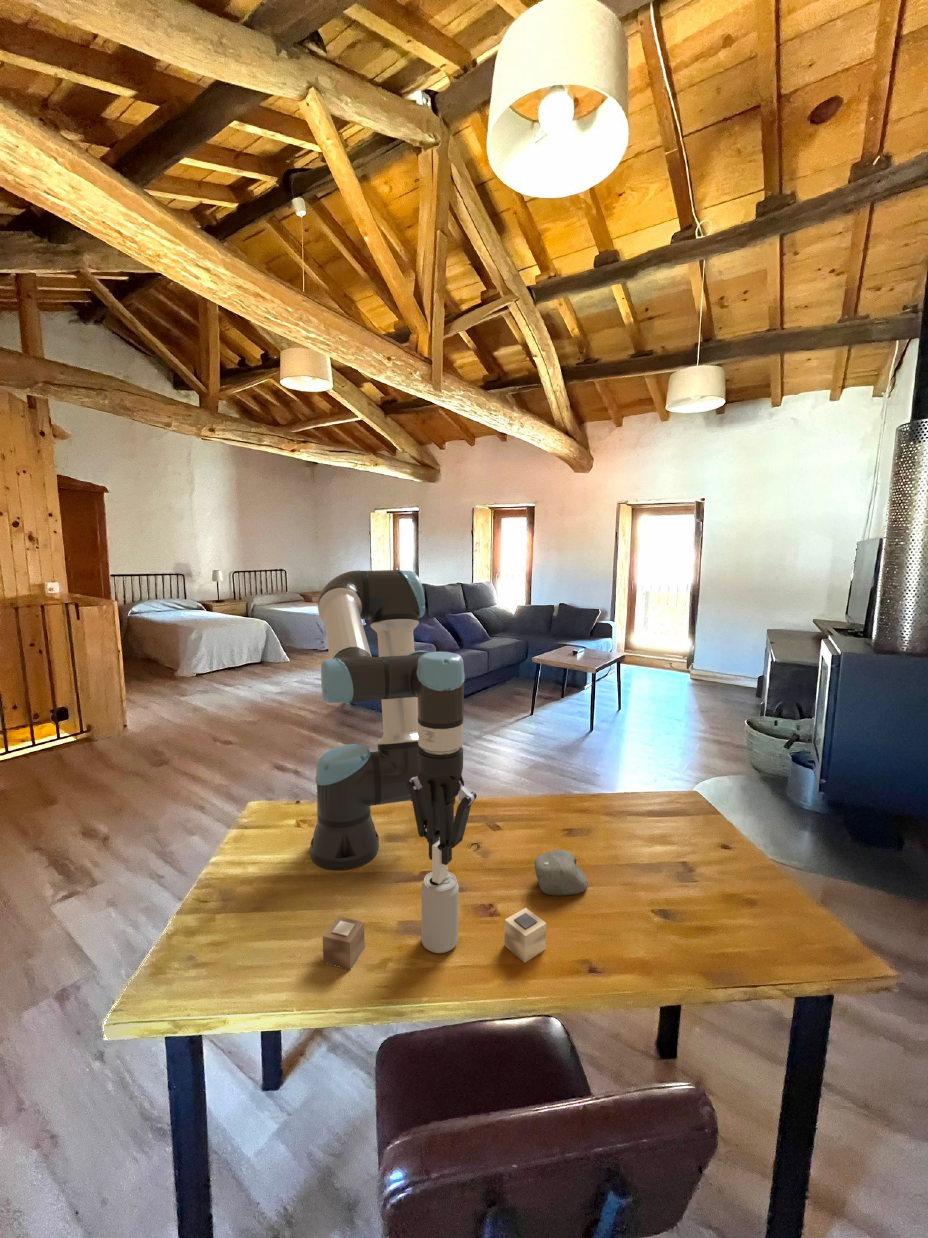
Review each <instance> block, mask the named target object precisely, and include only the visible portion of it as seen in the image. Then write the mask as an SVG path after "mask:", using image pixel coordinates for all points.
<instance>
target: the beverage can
mask: <svg viewBox="0 0 928 1238" xmlns="http://www.w3.org/2000/svg"><path fill="white" fill-rule="evenodd" d="M459 891H460V887H459V883H458V880H457V877H456V875H455V874H454V873H453V872H450V871H448V876H447V877H446V878H445V879H444V880H443V881H442V882H441V883H440V884H438V883H436V882H433V881H432V871H430V872H428V873H427V874H426V875H425V876H424V878H423V882H422V885H421V931H420V932H421V936H420V937H421V943H422V946H423V947H424V948H425V949H426V950H427V951H428V952H429V951H430V952H431V953H435V954H444V953H447V952H449V951H451V950H453V949H454V948H455V947H456V946H457V944H458V941H459V899H460V898H459Z"/></svg>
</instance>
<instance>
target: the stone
mask: <svg viewBox="0 0 928 1238" xmlns="http://www.w3.org/2000/svg"><path fill="white" fill-rule="evenodd" d="M534 870H535V875H536V880H537V883H538V886H539V888H540V890H541V891H542V892H543V893H544V894H545V895H548V896H573V895H576V894H577V895H578V894H582V893H583V892H586V890H587V887H589V885H590V884H589V881H588V878H587V876H586V875H585V873H584V871H583V870H582V869H581V868H580V867H579V866H578V865H577V857H576V856H575V855H574V854H573V853H572V852H570V851H569V850H566V849H559V848H558V849H554V850H551V851H547V852H546V853H543V854H541V855H538V856H537V857H536V859H535V860H534Z"/></svg>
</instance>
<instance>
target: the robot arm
mask: <svg viewBox="0 0 928 1238" xmlns="http://www.w3.org/2000/svg"><path fill="white" fill-rule="evenodd" d="M425 603H426V599H425V593H424V588H423V583H422V582H421V579H420V577H419V576H418V574H417V573H416V572H414V571H412V570H401V569H390V570H383V569H382V570H380V569H379V570H359V569H358V570H350V571H346V572H343V573H341V574H338V575H337V576H335V577H334V578H331V580H330V581H329V582H328V583H327V584H326V585H325V586H324V587H323V588H322V590H321V592H320V594H319V595H318V599H317V610H318V611H317V612H318V615H319V617H320V619H321V621H323V622H324V627H325V634H326V635H325V636H326V641H327V642H326V643H327V649H328V656H329V657H328V658H329V659H325V660H323V661H322V662H321V665H320V683H321V698H322V699H323V701H324V702H325V703H328V704H332V703H336V704H339V703H341V704H342V703H343V704H349V703H357V702H358V703H359V702H367V701H368V702H369V701H378V700H379V701H380V700H381V712H382V728H383V729H382V730H383V736H381V738H380V739H379V740H378V741H377V751H371V750H370V748H369V747H368V746H366V745H365V744H361V743H360V744H358V743H351V744H344V745H340V746H337V747H334V748H332V749H330V750H327V751H326V752H325V753H323V754H322V755H320V757H319V758H318V760H317V763H316V769H315V771H316V773H315V778H314V779H315V784H316V805H317V806H316V812H317V822H316V825H315V827H314V831H313V835H312V836H313V837H312V838H311V841H310V846H309V852H310V855H309V856H310V859H311V860H312V862H313V863H314V864H315V865H316V866H318V867H320V868H323V869H325V870H326V869H328V870H333V871H335V870H336V871H340V870H342V871H343V870H350V869H355V868H357V867H360V866H362V865H365V864H367V863H368V862H370V861H371V860H372V859H374V858H375V857H376V856H377V854H378V852H379V851H380V849H379V848H380V839H379V838H380V837H379V835H378V832H377V831H376V828H375V823H374V821H373V818H372V815H371V812H372V811H371V807H372V806H380V805H387V804H393V803H401V802H402V803H403V802H409V801H410V802H411V803H412V806H413V812H414V817H415V822H416V823H415V824H416V827H417V828H416V829H417V832H418V835H419V837H420V838H425V839H426V842H427V843H428V858H429V860H431V861H432V862H431V866H432V867H431V872H432V881H433V882H436V883H438V884H440V883H441V882H442V881H443V880H444V879H445V878H446V877H447V876H448V872H449V863H451V862H452V859H453V849H454V848H455V847H457V846H458V845H459V844H460V843H462V841H463V839H464V836H465V831H466V827H467V823H468V820H469V819H468V818H469V815H470V811H471V806H472V804H473V803H474V801H475V800H476V799H477V798H478V797H477V793H476V791H471V792H470V791H469V790H468V789H467V788H466V787H465V781H464V779H463V775H462V774H463V771H464V770H463V769H464V748H463V745H464V708H465V707H464V704H465V702H464V701H465V696H464V694H465V693H464V692H465V686H464V685H465V679H466V675H465V668H464V667H465V666H464V659H463V657H462V656H461V655H460V654H458V653H454V652H450V651H431V652H430V651H428V650H420V649H419V650H415V637H414V630H415V629H416V628H417V627H418V626H419V624H420V621H419V620H420V619H421V618H422V617H424V615H425V612H426V605H425ZM362 620H369V621H370V622H369V623H370V624H369V626H370V628H371V629H372V630H373V631H374V632H376V634H377V647H378V648H377V649H378V656H373V657H372V653H371V649H370V646H369V643H368V639H367V635H366V632H365V627H364V625H363V622H362ZM457 796H459V797H458V800H457V802H458V806H457V807H456V812H455V807H454V806H455V804H456V797H457ZM454 813H455V814H454Z"/></svg>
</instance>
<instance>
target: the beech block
mask: <svg viewBox="0 0 928 1238" xmlns="http://www.w3.org/2000/svg"><path fill="white" fill-rule="evenodd" d="M546 943H547V923H546V922H545V921H544V920H543V919H541V918H540V917H539V916H537V915H536V914H534V912H532V911H531V910H530V909H528V908H527V907H524V908H523V909H521V910H519V911H518V912H516V913H514V914H512V915H510V916H509V917H507V918H505V919H504V943H503V944H504V947H506V948H507V949H508V950H509V951H510V952H512V954H514V955H515V956H516V957H517V958H518V959H519V960H521V961H522V962H523V963H524V964H526V963H527V962H529V961H530V960H532V959H533V958H534V957H536V956H538V955H539V954H541V953H542V952H544V951H545V950H546V948H547V945H546Z"/></svg>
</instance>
